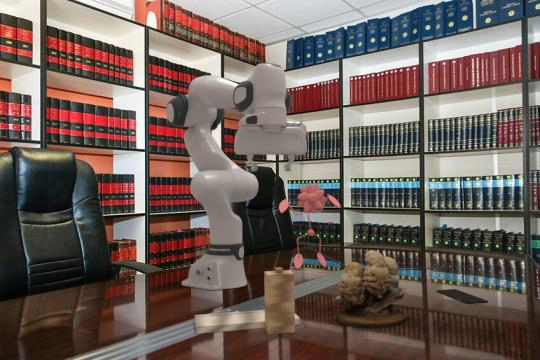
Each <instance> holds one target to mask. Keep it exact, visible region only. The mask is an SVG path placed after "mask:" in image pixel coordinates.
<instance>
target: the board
mask: <svg viewBox="0 0 540 360" xmlns="http://www.w3.org/2000/svg"><path fill="white" fill-rule="evenodd" d="M300 325H301V318H300V316H299V315H297V314H296V313H295V326H300ZM194 326H195V333H196V334H197V335H198V334H199V335H200V334H206V333H220V332H234V331H243V330H255V329H256V330H257V329H265V309H263V310H261V309H260V310H248V311H233V312H219V313H207V314H195V315H194Z"/></svg>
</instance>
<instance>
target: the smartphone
mask: <svg viewBox="0 0 540 360" xmlns="http://www.w3.org/2000/svg"><path fill="white" fill-rule="evenodd" d="M436 293H438V294H440V295H442V296H446V297H448V298H451V299H452V300H455V301H457V302H461V303H463V304H465V305H474V304H475V305H476V303H478V304H488V303H489V301H488V300H486V299H484V298H481V297H478V296H475V295H473V294H470V293H467V292H464V291H462V290H459V289H457V288H450V289H449V288H448V289H437V290H436Z"/></svg>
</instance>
